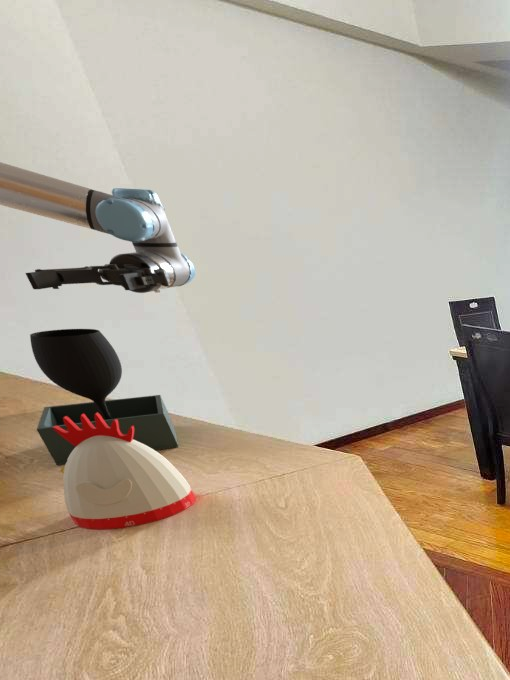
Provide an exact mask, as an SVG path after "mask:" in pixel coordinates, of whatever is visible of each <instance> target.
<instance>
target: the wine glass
mask: <svg viewBox="0 0 510 680" xmlns="http://www.w3.org/2000/svg"><path fill="white" fill-rule="evenodd" d="M29 338H30V340H29V341H30V346H31V350H32V354H33V357H34V359H35V361H36V363H37V365H38V367H39V368H40V371H41V372H42V373H43V374H44V375H45V377H47V378H48V379H49V380H50V381H51V382H52V383H53V384H55V385H57V386H58V387H60V388H62V389H64V390H65V391H67V392H69V393H72V394H74V395H77V396H79V397H82V398H85V399H87V400H90V401H91V402H95V404H96V405H97V406H98V408H99V410H100V411H101V413H102V415H103V417H104V419H105V420H108V419H112V418H111V416H110V414H109V411H108V409H107V406H106V403H105V401H106V399H107V397H108V396H109V395H110V394H111V393H112V392H114V390H115V389H116V388H117V386H118V385H119V383H120V382H121V380H122V375H123V369H122V367H123V366H122V363H121V360H120V358H119V356H118V353H117V352H116V350H115V348H114V347H113V346H112V344H111V342H110V341H109V340H108V339H107V338H106V336H105V335H104V334H103V333H102V332H101V330H99V329H94V328H66V329H65V328H63V329H51V330H43V331H42V330H41V331H37V332H33V333H30V334H29Z"/></svg>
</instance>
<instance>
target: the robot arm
mask: <svg viewBox="0 0 510 680" xmlns="http://www.w3.org/2000/svg"><path fill="white" fill-rule="evenodd" d="M0 206H3V207H8V208H10V209H14V210H18V211H22V212H25V213H28V214H29V213H30V214H33V215H37V216H40V217H45V218H48V219H51V220H52V219H53V220H56V221H59V222H64V223H67V224H71V225H75V226H77V227H78V226H79V227H81V228H86V229H90V230H94V231H97V232H100V233H103V234H107V235H111V236H112V237H115V238H117V239H119V240H122V241H126V242H131V245H132V246H133V248H134V250H135V252H128V253H127V252H125V253H119V254H116V255H114V256H113V257H111V259H110V261H109V263H106V264H104V265H90V266H84V267H83V266H82V267H67V268H66V267H65V268H48V269H47V268H46V269H41V268H37V269H34V271H30V272H25V276H26V278H27V279H28V282H29V284H30V285H31V288H32V290H43V289H44V290H45V289H51V288H52V289H53V290H60V288H59V287H62V286H63V285H75V284H76V285H78V284H95V285H99V286H112V285H113V286H121V287H122V288H123V289H124V290H125V291H129V292H132V293H137V294H145V293H146V294H147V293H151V292H154V293H157V294H160V293H161V290H163V289H169V288H174V287H175V288H176V287H183V286H185V285H187V284H189V283H190V282H192V281H193V279H194V278H195V276H196V269H195V265H194V264H193V262H192V261H191V260H190V259H189V257H187V255H185V254H183V252H181V250H180V248H179V246H178V244H177V241H176V239H175V236H174V233H173V229H172V228H171V225H170V222H169V220H168V217H167V214H166V212H165V207H164V206H163V204H162V202H161V200H160V197H159V195H158V193H157V192H155V191H154V190H151V189H142V188H125V187H124V188H121V187H114V188H112V190H111V194H109V193H107V192H103V191H99V190H96V189H92V188H89V187H86V186H82V185H79V184H76V183H72V182H69V181H66V180H62V179H59V178H55V177H52V176H48V175H45V174H42V173H38V172H34V171H31V170H28V169H24V168H21V167H18V166H14V165H11V164H7V163H4V162H1V161H0Z"/></svg>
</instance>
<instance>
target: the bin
mask: <svg viewBox="0 0 510 680" xmlns="http://www.w3.org/2000/svg"><path fill="white" fill-rule="evenodd" d="M105 403H106V406H107V409H108V411H109V414H110V416H111V418H112V419H108V420H105V419H104V417H103V415H102V413H101V411H100V410H99V408H98V406H97V405H96V404H95V402H93V401H89V402H80V403H70V404H69V403H68V404H60V405H59V404H58V405H51V406H44V407H43V410H42V413H41V416H40V418H39V422H38V424H37V427H36V432H37V433H38V435H39V437H40V438H41V440H42V442H43V443H44V445H45V447H46V449H47V451H48V452H49V455H50V456H51V458H52V460H53V462H54V463H55V465H56V466H60V465H66V460H67V459H68V457H69V455H70V454H71V452H72V451H73V450H74V448H75V447H76V446H74V445H73V444H72V443H70V442H69V441H68V440H66V439H65V438H63V437H62V436H61V435H60V434H58V433H57V432H56V431H55V430H54V429H53V427H54V426H58V427H60V428H62V429H64V430H66V431H68V429H67V427H66V425H65V423H64V421H63V418H64V417H65V416H67V417H69V418H70V419H71V420H72V421H73V422H74V423H75V424H76V425H77V426H78V427H79V428H80V429H83V427H82V423H81V417H80V416H81V415H82V414H83V413H84V414H85V415H86V417H87V418H88V419H89V421H90V422H91V423H92V425H93V426H94V427H95V428H96V423H95V417H94V415H95V414H96V413H97V412H98V413H99V414H100V415H101V417H102V418H103V419H104V421H105V422H106V424H107V425H108V426H109V427H110V428H111V425H112V422H113V421H114V420H115V419H117V420H118V423H119V430H120V432H121V433H122V434H124V435H126V434H128V432H129V429H130V428H131V427H132V426H134V437H133V440H136V441H138V442H140V443H142V444H144V445H146V446H148V447H150V448H152V449H153V450H155V451H161V450H169V449H174V448H175V449H176V448H179V442H178V438H177V434H176V429H175V425H174V422H173V420H172V418H171V416H170V413H169V411H168V409H167V406H166V405H165V402H164V400H163V398H162V396H161V394H156V395H147V396H146V395H145V396H137V397H126V398H118V399H116V398H115V399H107V400H105ZM68 432H69V431H68Z"/></svg>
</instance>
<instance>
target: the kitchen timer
mask: <svg viewBox="0 0 510 680" xmlns="http://www.w3.org/2000/svg"><path fill="white" fill-rule="evenodd" d="M80 417H81V423H82V427H83V429H80V428H79V427H78V426H77V425H76V424H75V423H74V422H73V421H72V420H71V419H70V418H69V417H67V416H65V417H64V418H63V421H64V423H65V425H66V427H67V429H68V431H69V432H68V431H66V430H64V429H62V428H60V427H58V426H54V427H53V429H54V430H55V431H56V432H57V433H58V434H60V435H61V436H62V437H63V438H65V439H66V440H68V441H69V442H70V443H72V444H73V445H74V446H76V447H75V448H74V450H73V451H72V452H71V454H70V455H69V457H68V459H67V460H66V464H64V466H63V467H62V469H61V470H60V473H62V474H63V476H62V477H63V480H62V482H63V483H62V485H63V494H64V503H65V506H66V510H67V512H68V515H69V516H70V518H71V519H72V521H73V523H74V524H75V525H76V526H78V527H79V528H82V529H88V530H113V529H121V528H122V529H123V528H129V527H134V526H135V527H136V526H140V525H144V524H148V523H153V522H156V521H160V520H163V519H165V518H169V517H171V516H174V515H176V514H179V513H181V512H184V511H185V510H186V509H188V508H189V507H191V506H192V505H193V504H194V503H195V502H196V496H195V494H194V492H193V490H192V487H191V485H190V483H189V482H188V481H187V479H186V478H185V477H184V476H183V474H182V473H181V472H180V471H179V470H178V469H177V468H176V467H175V466H174V465H173V464H172V462H170V461H169V460H168V459H167V458H166V457H165V456H163V455H162V454H161V453H160V452H158V451H157V450H153V449H152V448H150V447H148V446H146V445H144V444H142V443H140V442H138V441H136V440H133V437H134V426H132V427H131V428H130V429H129V432H128V434H126V435H124V434H122V433H121V432H120V430H119V423H118V420H117V419H115V420H114V421H113V422H112V425H111V428H110V427H109V426H108V425H107V424H106V422H105V421H104V419H103V418H102V417H101V415H100V414H99V413H98V412H97V413H96V414H95V415H94V417H95V423H96V428H95V427H94V426H93V425H92V423H91V422H90V421H89V419H88V418H87V417H86V415H85V414H84V413H83V414H82V415H81V416H80Z"/></svg>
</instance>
